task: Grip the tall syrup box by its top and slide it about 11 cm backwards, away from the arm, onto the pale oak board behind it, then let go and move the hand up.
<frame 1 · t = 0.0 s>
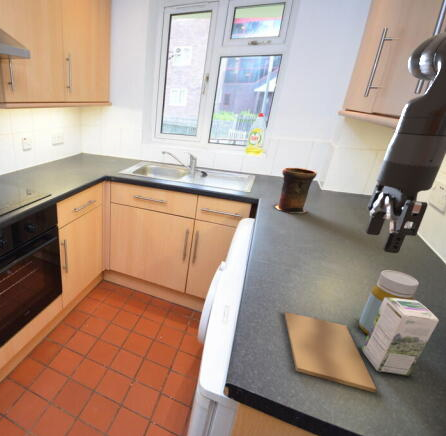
hand: (380, 242, 58), 25 cm above the countertop, tool pointing down, fingers open, 8 cm apart
bottle: (376, 332, 70), on the countertop
syrup box: (383, 364, 61), on the countertop
vessel: (290, 209, 151), on the countertop
oak board: (322, 348, 65), on the countertop
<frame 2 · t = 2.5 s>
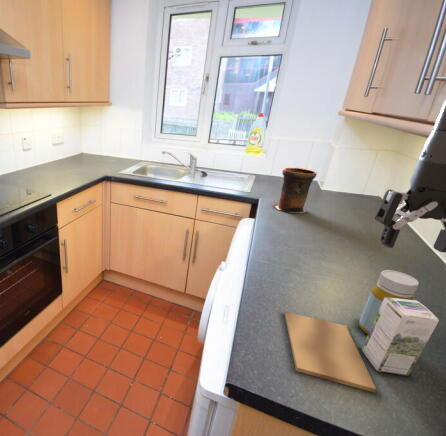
hand: (412, 248, 54), 25 cm above the countertop, tool pointing down, fingers open, 8 cm apart
nothing on the countertop moved.
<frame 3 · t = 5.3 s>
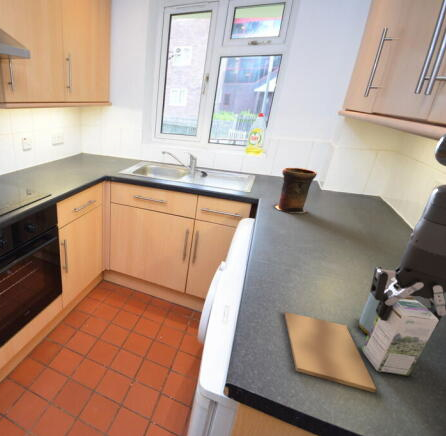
hand: (403, 322, 57), 11 cm above the countertop, tool pointing down, fingers closed on syrup box, 6 cm apart
syrup box: (383, 364, 61), on the countertop, touching gripper
everything else where it was.
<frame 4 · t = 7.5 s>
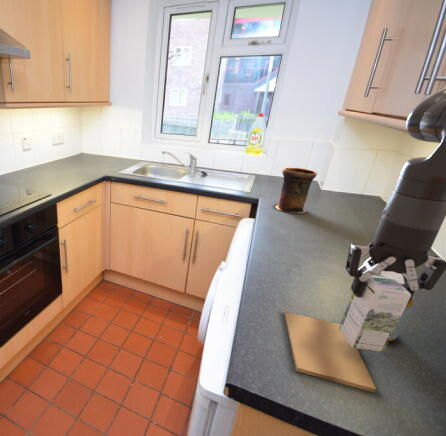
hand: (377, 298, 58), 15 cm above the countertop, tool pointing down, fingers closed on syrup box, 6 cm apart
syrup box: (359, 342, 62), point 4 cm above the countertop, touching gripper
everything else where it was.
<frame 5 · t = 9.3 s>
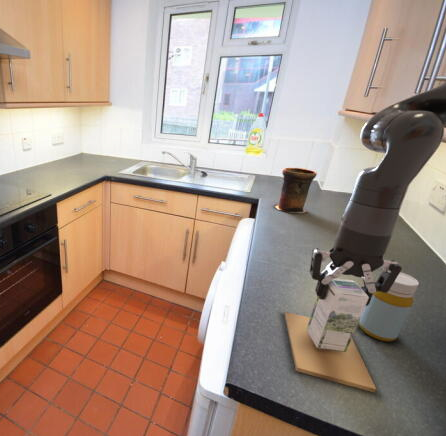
hand: (339, 301, 60), 13 cm above the countertop, tool pointing down, fingers closed on syrup box, 6 cm apart
syrup box: (325, 342, 64), point 2 cm above the countertop, touching gripper
everything else where it was.
when the fingers open (12 cm above the countertop, at t = 10.1 s): syrup box stays where it is, resting on oak board.
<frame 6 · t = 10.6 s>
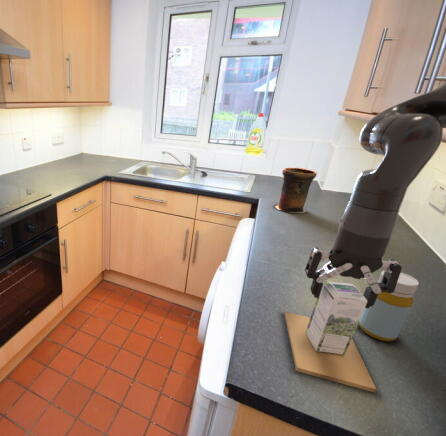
hand: (339, 300, 60), 13 cm above the countertop, tool pointing down, fingers open, 8 cm apart
syrup box: (324, 345, 65), point 1 cm above the countertop, touching oak board
everything else where it was.
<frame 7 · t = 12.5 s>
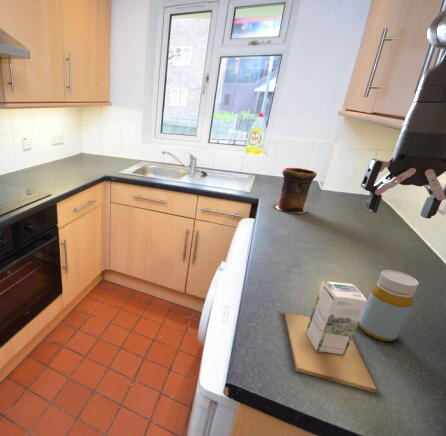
hand: (398, 214, 59), 30 cm above the countertop, tool pointing down, fingers open, 8 cm apart
nothing on the countertop moved.
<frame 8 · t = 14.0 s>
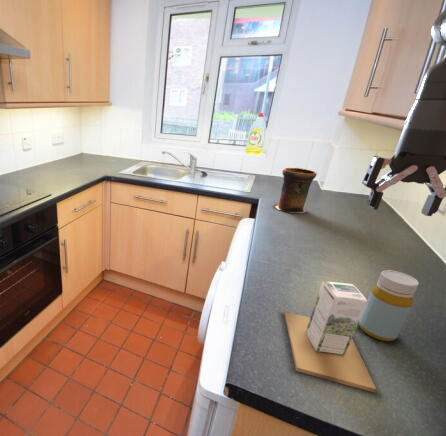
hand: (399, 211, 59), 30 cm above the countertop, tool pointing down, fingers open, 8 cm apart
nothing on the countertop moved.
at the end: syrup box 0.4 cm from the target spot, point 0.8 cm above the countertop; syrup box tilted 0°; syrup box moved 10.9 cm from its start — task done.
